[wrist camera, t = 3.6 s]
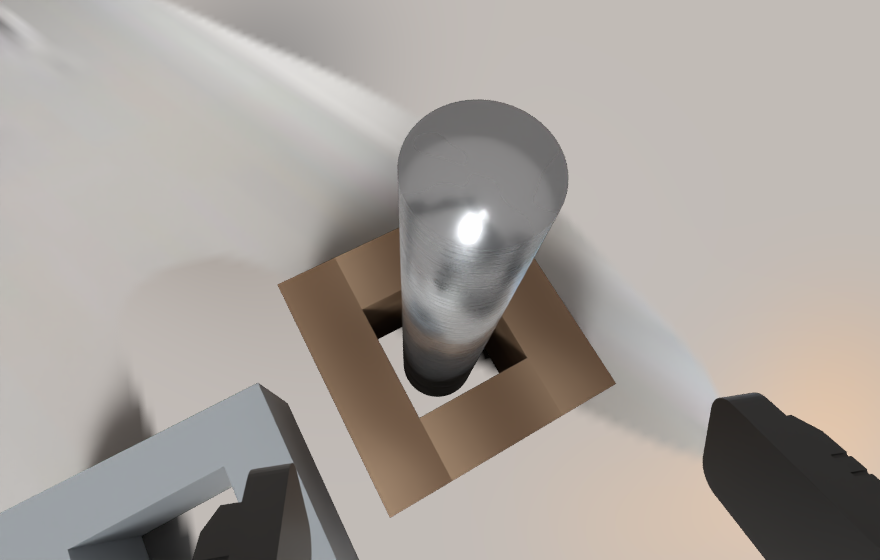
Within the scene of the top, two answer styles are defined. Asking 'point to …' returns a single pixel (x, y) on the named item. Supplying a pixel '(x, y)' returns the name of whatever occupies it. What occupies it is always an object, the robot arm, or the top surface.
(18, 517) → the socket block
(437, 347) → the steel axle
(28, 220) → the top surface
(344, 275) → the wooden square frame
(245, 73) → the top surface
